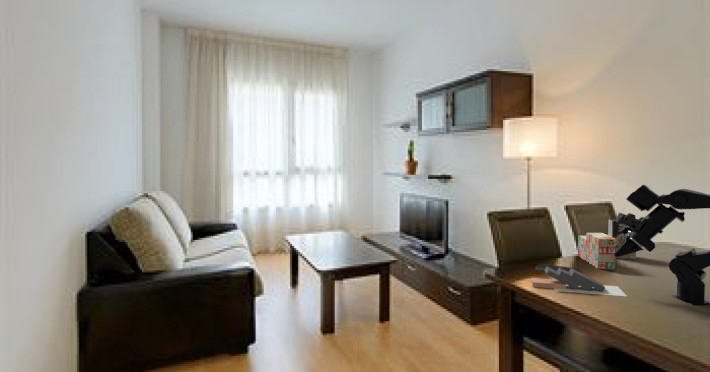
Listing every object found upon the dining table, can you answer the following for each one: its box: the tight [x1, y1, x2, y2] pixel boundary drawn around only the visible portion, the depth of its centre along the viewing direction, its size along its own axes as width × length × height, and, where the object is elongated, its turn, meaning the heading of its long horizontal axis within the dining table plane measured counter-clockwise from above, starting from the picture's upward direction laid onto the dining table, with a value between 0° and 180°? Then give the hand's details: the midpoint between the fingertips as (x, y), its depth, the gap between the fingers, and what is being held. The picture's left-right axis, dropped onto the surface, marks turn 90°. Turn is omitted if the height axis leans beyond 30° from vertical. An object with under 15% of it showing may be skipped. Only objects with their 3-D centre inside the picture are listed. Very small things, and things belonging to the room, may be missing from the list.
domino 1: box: [544, 266, 579, 289], centre depth 133 cm, size 2×5×10 cm
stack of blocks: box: [577, 232, 616, 270], centre depth 164 cm, size 21×6×12 cm, turn 170°
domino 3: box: [569, 267, 605, 292], centre depth 130 cm, size 2×5×10 cm
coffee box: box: [607, 218, 637, 260], centre depth 171 cm, size 9×6×16 cm
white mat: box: [553, 284, 627, 297], centre depth 130 cm, size 20×10×1 cm, turn 71°
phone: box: [534, 263, 582, 273], centre depth 154 cm, size 8×1×15 cm
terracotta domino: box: [531, 277, 566, 289], centre depth 134 cm, size 2×5×10 cm
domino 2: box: [557, 267, 592, 291], centre depth 131 cm, size 2×5×10 cm
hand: (615, 256), depth 128 cm, fingers closed
